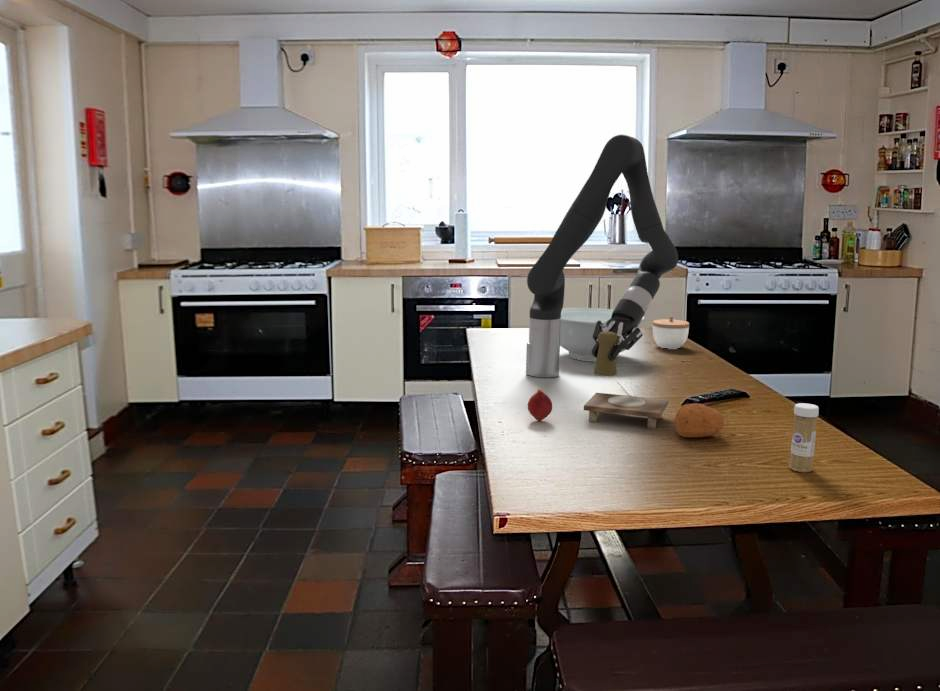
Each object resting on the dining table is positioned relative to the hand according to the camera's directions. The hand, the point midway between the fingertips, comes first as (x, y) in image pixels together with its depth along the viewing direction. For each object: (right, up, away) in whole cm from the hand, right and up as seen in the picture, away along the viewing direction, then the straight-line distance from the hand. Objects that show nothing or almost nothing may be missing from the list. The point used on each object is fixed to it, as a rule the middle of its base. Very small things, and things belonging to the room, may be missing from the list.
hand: (602, 357), depth 224 cm
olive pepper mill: (+1, -5, +2) cm, 5 cm away
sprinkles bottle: (+33, -22, -48) cm, 62 cm away
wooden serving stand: (+4, -15, -12) cm, 20 cm away
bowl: (+6, -1, +62) cm, 63 cm away
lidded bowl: (+36, +2, +82) cm, 90 cm away
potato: (+18, -18, -26) cm, 36 cm away
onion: (-17, -15, -15) cm, 28 cm away
